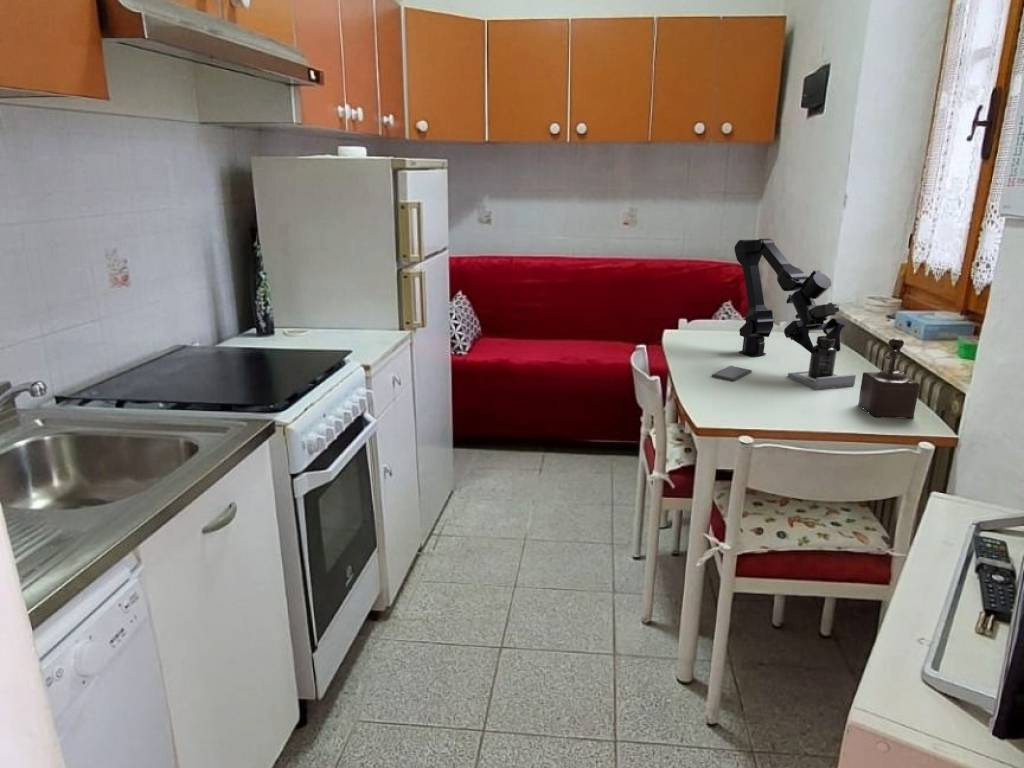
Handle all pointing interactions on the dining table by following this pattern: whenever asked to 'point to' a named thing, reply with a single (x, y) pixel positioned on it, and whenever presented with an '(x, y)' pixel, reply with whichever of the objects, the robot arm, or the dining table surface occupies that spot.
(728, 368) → the phone
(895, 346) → the pepper mill
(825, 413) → the dining table surface
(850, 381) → the tray
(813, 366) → the supplement bottle
